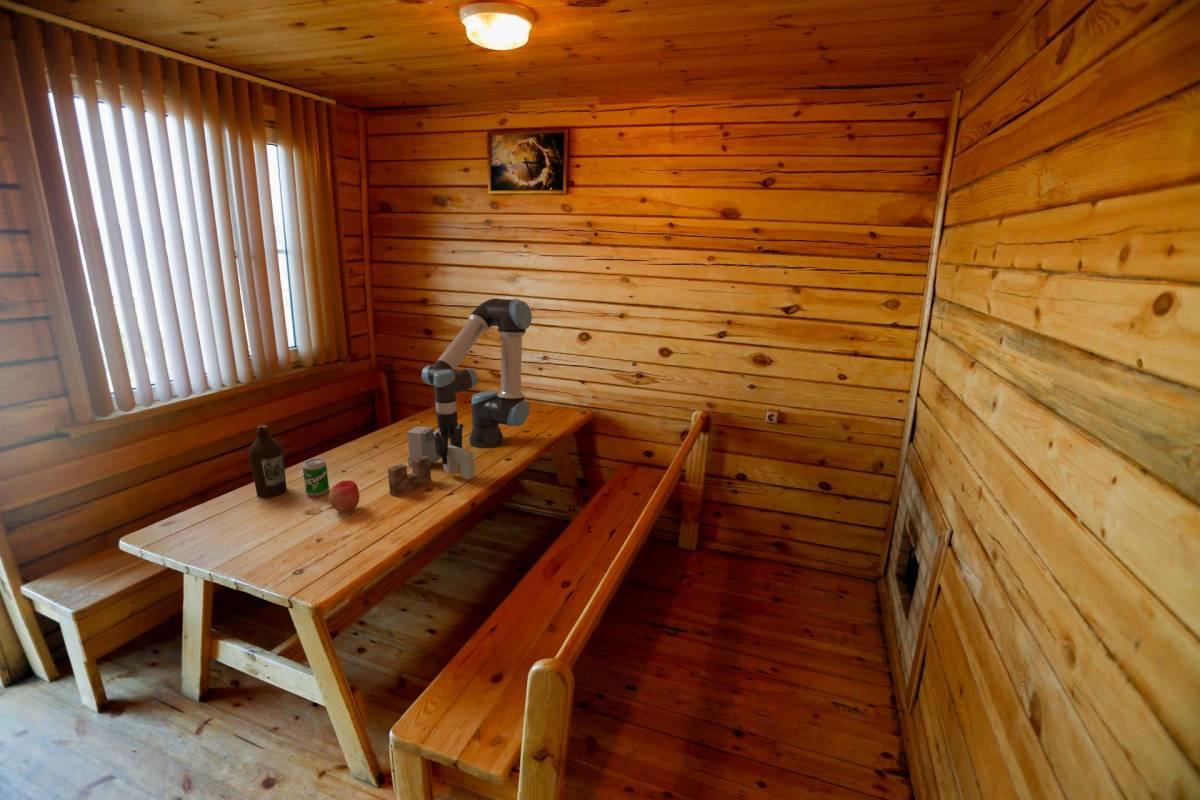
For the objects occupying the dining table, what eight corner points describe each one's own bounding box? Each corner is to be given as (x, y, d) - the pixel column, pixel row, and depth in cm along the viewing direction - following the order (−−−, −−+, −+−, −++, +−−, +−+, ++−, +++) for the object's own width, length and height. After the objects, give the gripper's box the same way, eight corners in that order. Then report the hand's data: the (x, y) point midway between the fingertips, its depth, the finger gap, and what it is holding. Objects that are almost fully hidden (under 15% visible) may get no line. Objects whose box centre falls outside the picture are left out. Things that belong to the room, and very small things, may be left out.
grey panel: (443, 470, 222) (441, 446, 219) (449, 467, 224) (447, 443, 222) (468, 479, 214) (467, 454, 212) (474, 476, 217) (473, 451, 214)
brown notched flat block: (426, 480, 220) (424, 455, 217) (431, 482, 218) (429, 457, 215) (390, 494, 207) (387, 468, 204) (395, 496, 205) (393, 470, 203)
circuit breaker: (441, 470, 229) (439, 435, 225) (408, 467, 231) (405, 432, 227) (449, 463, 236) (447, 429, 232) (417, 460, 239) (415, 426, 234)
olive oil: (249, 493, 206) (238, 427, 199) (279, 483, 214) (270, 419, 207) (263, 501, 200) (253, 433, 193) (294, 491, 208) (285, 425, 201)
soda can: (306, 490, 209) (302, 459, 206) (329, 487, 212) (325, 456, 209) (305, 498, 202) (301, 467, 199) (329, 495, 205) (325, 464, 202)
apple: (339, 504, 199) (336, 477, 196) (366, 504, 199) (363, 478, 196) (325, 517, 190) (322, 489, 187) (354, 517, 189) (351, 489, 187)
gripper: (456, 404, 223) (460, 460, 230) (422, 415, 211) (427, 474, 217) (469, 407, 219) (473, 464, 226) (436, 419, 206) (441, 479, 213)
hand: (451, 469), depth 222 cm, fingers closed on grey panel, 3 cm apart
